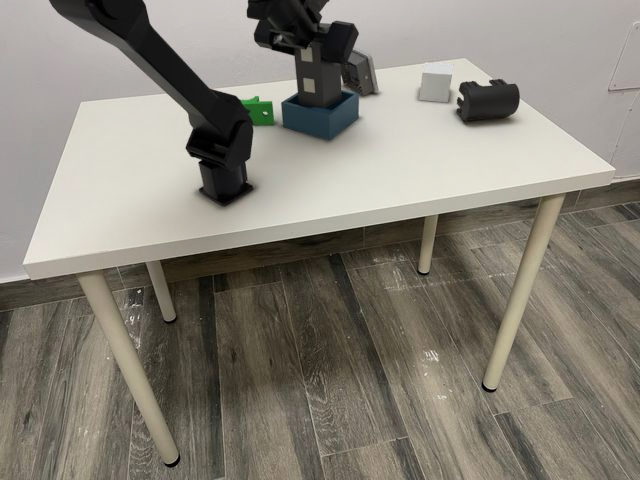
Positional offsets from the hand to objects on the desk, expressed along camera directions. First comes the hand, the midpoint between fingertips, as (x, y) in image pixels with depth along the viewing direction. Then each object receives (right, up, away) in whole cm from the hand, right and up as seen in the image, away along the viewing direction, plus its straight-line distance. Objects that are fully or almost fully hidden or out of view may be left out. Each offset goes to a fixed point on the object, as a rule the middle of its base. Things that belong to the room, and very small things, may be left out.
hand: (323, 60), depth 88 cm
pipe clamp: (-15, -9, +8) cm, 20 cm away
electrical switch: (+8, 0, +19) cm, 20 cm away
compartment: (0, -10, +7) cm, 12 cm away
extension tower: (-1, -7, +3) cm, 8 cm away
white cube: (+24, -2, +15) cm, 29 cm away
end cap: (+32, -9, +7) cm, 34 cm away
